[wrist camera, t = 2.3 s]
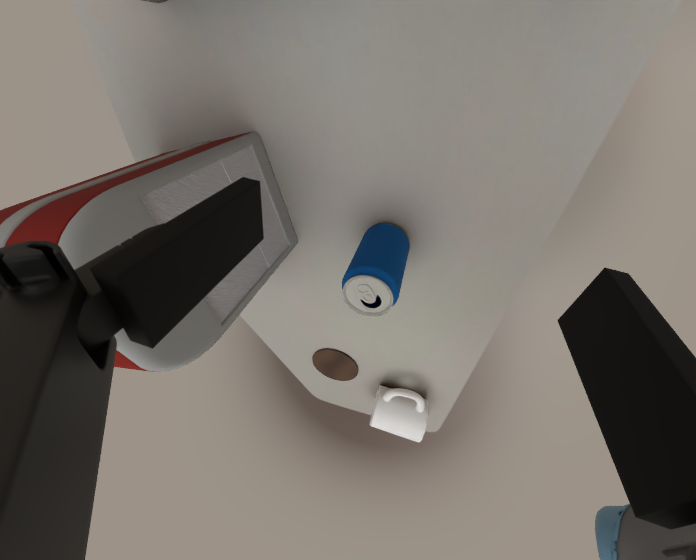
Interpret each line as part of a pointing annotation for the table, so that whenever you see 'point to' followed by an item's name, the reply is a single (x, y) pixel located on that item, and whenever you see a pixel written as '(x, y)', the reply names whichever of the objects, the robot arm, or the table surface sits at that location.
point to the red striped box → (156, 208)
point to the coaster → (335, 364)
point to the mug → (400, 413)
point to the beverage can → (376, 270)
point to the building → (156, 1)
